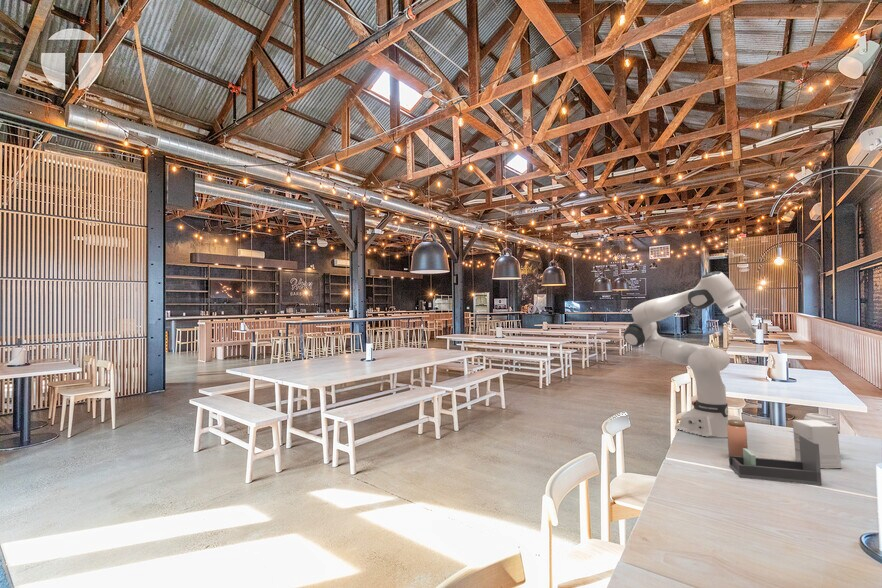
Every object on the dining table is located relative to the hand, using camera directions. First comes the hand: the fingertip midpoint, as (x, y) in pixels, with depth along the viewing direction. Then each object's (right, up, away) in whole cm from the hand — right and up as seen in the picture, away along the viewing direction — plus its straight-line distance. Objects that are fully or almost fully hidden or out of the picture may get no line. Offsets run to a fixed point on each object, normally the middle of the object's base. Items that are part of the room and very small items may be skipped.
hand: (753, 335), depth 162 cm
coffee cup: (+20, -46, -9) cm, 51 cm away
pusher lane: (-15, -45, -27) cm, 54 cm away
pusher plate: (-21, -44, -25) cm, 55 cm away
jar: (-14, -46, -11) cm, 49 cm away
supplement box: (+9, -45, -18) cm, 50 cm away
